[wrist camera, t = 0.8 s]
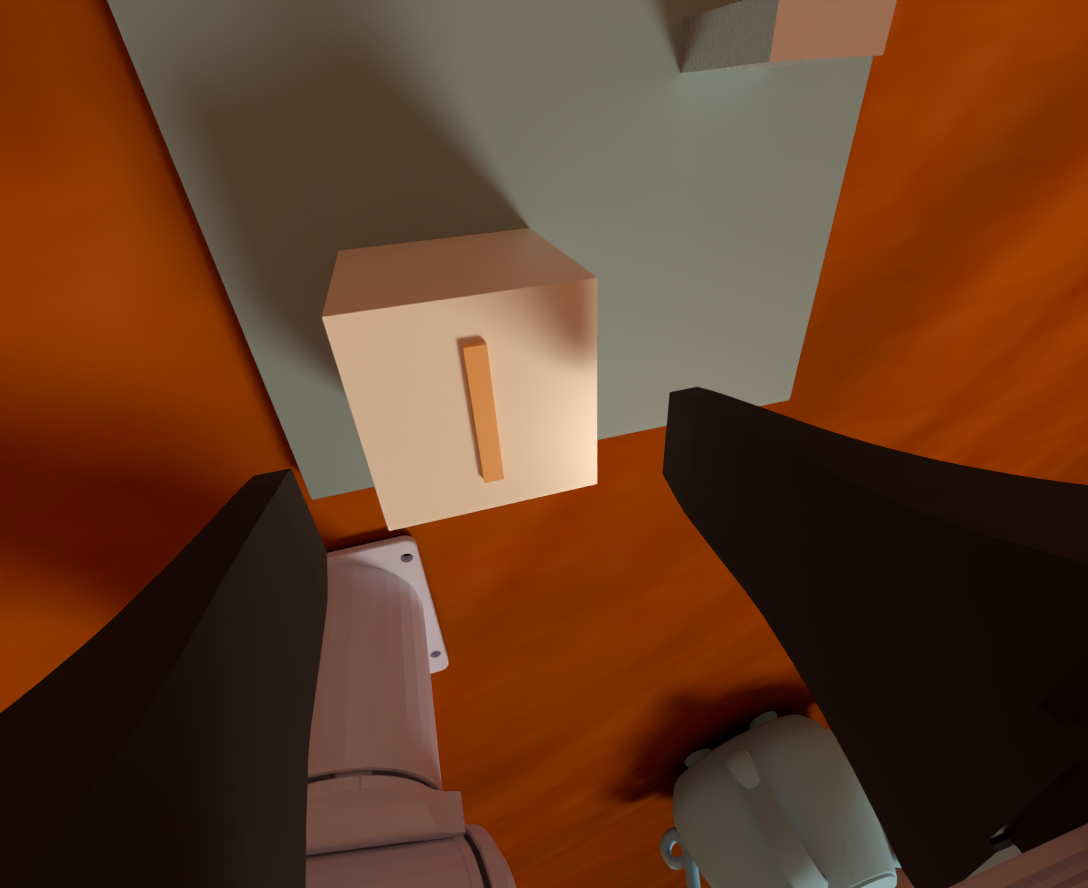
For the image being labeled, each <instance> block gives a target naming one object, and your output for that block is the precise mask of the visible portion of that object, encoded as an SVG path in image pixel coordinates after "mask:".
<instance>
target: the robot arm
mask: <svg viewBox="0 0 1088 888" xmlns="http://www.w3.org/2000/svg"><path fill="white" fill-rule="evenodd" d="M663 475H664V477H665V479H666V481H667V483H668V485H669V486H670V488H671V490H672V492H673V494H674V496H675V497H676V499H677V501H678V502H679V504H680V506H681V507H682V509H683V511H684V512H685V514H686V515H687V516H688V518H689V519H690V520H691V522H692V523H693V524H694V526H695V527H696V528H697V530H698V531H699V532H700V534H701V535H702V536H703V538H704V539H705V540H706V541H707V543H708V544H709V545H710V547H711V548H712V549H713V550H714V552H715V553H716V554H717V555H718V557H719V558H720V559H721V561H722V562H723V563H724V564H725V566H726V567H727V568H728V570H729V571H730V572H731V573H732V575H733V576H734V577H735V578H736V580H737V581H738V582H739V584H740V585H741V586H742V587H743V589H744V590H745V591H746V593H747V594H748V595H749V596H750V598H751V599H752V601H753V602H754V603H755V605H756V606H757V608H758V609H759V610H760V612H761V613H762V615H763V616H764V618H765V619H766V621H767V622H768V624H769V626H770V627H771V629H772V630H773V632H774V634H775V635H776V637H777V638H778V640H779V641H780V643H781V645H782V646H783V648H784V649H785V651H786V653H787V654H788V656H789V657H790V659H791V661H792V662H793V664H794V666H795V667H796V669H797V671H798V673H799V674H800V676H801V678H802V679H803V681H804V683H805V685H806V686H807V688H808V690H809V691H810V693H811V695H812V696H813V698H814V700H815V702H816V703H817V705H818V707H819V708H820V710H821V712H822V714H823V716H824V717H825V719H826V721H827V723H828V725H829V727H830V728H831V730H832V732H833V734H834V736H835V738H836V739H837V741H838V743H839V745H840V747H841V749H842V750H843V752H844V754H845V756H846V758H847V760H848V761H849V763H850V765H851V767H852V769H853V771H854V773H855V775H856V777H857V779H858V781H859V782H860V784H861V786H862V788H863V790H864V792H865V794H866V796H867V798H868V800H869V802H870V804H871V806H872V808H873V810H874V812H875V814H876V816H877V818H878V820H879V822H880V824H881V826H882V828H883V830H884V832H885V834H886V836H887V838H888V840H889V843H890V845H891V846H892V849H893V851H894V853H895V855H896V857H897V859H898V862H899V864H900V866H901V868H902V870H903V872H904V873H905V875H906V876H907V877H908V879H909V880H910V882H911V883H912V885H913V886H914V887H915V888H1088V485H1082V484H1074V483H1066V482H1058V481H1051V480H1045V479H1038V478H1031V477H1025V476H1018V475H1012V474H1007V473H1001V472H996V471H990V470H985V469H979V468H974V467H968V466H963V465H958V464H953V463H949V462H944V461H939V460H934V459H930V458H926V457H922V456H918V455H914V454H910V453H906V452H901V451H897V450H893V449H889V448H885V447H882V446H878V445H874V444H871V443H867V442H864V441H860V440H857V439H854V438H851V437H847V436H844V435H841V434H838V433H834V432H831V431H828V430H825V429H822V428H819V427H816V426H813V425H810V424H807V423H804V422H801V421H798V420H795V419H792V418H790V417H787V416H784V415H781V414H778V413H775V412H773V411H770V410H767V409H764V408H762V407H759V406H756V405H753V404H750V403H748V402H745V401H742V400H739V399H736V398H733V397H731V396H728V395H725V394H722V393H718V392H715V391H712V390H708V389H704V388H700V387H693V388H688V389H683V390H678V391H673V392H670V393H669V404H668V416H667V428H666V439H665V451H664V463H663ZM404 554H411V555H409V556H403V555H404ZM448 663H449V662H448V656H447V652H446V649H445V645H444V642H443V638H442V634H441V631H440V627H439V624H438V620H437V616H436V613H435V609H434V606H433V602H432V598H431V595H430V591H429V588H428V584H427V580H426V577H425V573H424V570H423V566H422V562H421V559H420V555H419V552H418V548H417V544H416V541H415V539H414V538H412V537H411V536H399V537H395V538H390V539H386V540H382V541H377V542H373V543H368V544H364V545H360V546H355V547H351V548H347V549H342V550H338V551H334V552H329V553H327V551H326V549H325V546H324V544H323V542H322V539H321V537H320V535H319V532H318V530H317V528H316V525H315V523H314V521H313V518H312V516H311V514H310V511H309V509H308V507H307V504H306V502H305V500H304V497H303V495H302V493H301V490H300V488H299V486H298V483H297V481H296V479H295V476H294V474H293V472H292V469H286V470H281V471H276V472H271V473H266V474H261V475H256V476H253V477H252V478H251V479H250V480H249V481H248V482H247V483H246V484H245V485H244V486H243V487H242V488H241V489H240V490H239V491H238V492H237V493H236V494H235V495H234V496H233V497H232V498H231V499H230V500H229V501H228V503H227V504H226V505H225V506H224V507H223V508H222V509H221V510H220V511H219V512H218V513H217V514H216V515H215V517H214V518H213V519H212V520H211V521H210V522H209V523H208V524H207V525H206V526H205V527H204V528H203V529H202V530H201V531H200V533H199V534H198V535H197V536H196V537H195V538H194V539H193V540H192V541H191V542H190V543H189V544H188V545H187V546H186V547H185V548H184V549H183V550H182V552H181V553H180V554H179V555H178V556H177V557H176V558H175V559H174V560H173V561H172V562H171V563H170V564H169V565H168V566H167V567H166V568H165V569H164V570H163V571H162V572H161V573H160V574H159V575H158V576H157V577H156V578H155V579H154V580H153V581H151V582H150V583H149V584H148V585H147V586H146V587H145V588H144V589H143V590H142V591H141V592H140V593H139V594H138V595H137V596H136V597H135V598H134V599H133V600H132V601H131V602H130V603H129V604H128V605H127V606H126V607H125V608H124V609H123V610H122V611H121V612H120V613H119V614H118V615H117V616H115V617H114V618H113V619H112V620H111V621H110V622H109V623H108V624H107V625H106V626H105V627H103V628H102V629H101V630H100V631H99V632H98V633H97V634H96V635H94V636H93V637H92V638H91V639H90V640H89V641H88V642H87V643H85V644H84V645H83V646H82V647H81V648H80V649H79V650H77V651H76V652H75V653H74V654H73V655H71V656H70V657H69V658H68V659H67V660H65V661H64V662H63V663H62V664H61V665H60V666H58V667H57V668H56V669H55V670H54V671H52V672H51V673H50V674H49V675H48V676H46V677H45V678H44V679H43V680H42V681H40V682H39V683H38V684H37V685H36V686H34V687H33V688H32V689H31V690H29V691H28V692H27V693H26V694H24V695H23V696H22V697H21V698H20V699H18V700H17V701H16V702H14V703H13V704H12V705H10V706H9V707H8V708H6V709H5V710H4V711H3V712H1V713H0V888H516V885H515V882H514V879H513V876H512V873H511V871H510V868H509V866H508V864H507V862H506V860H505V858H504V856H503V855H502V853H501V852H500V851H499V849H498V847H497V845H496V844H495V842H494V840H493V839H492V837H491V836H490V835H489V833H488V832H487V831H486V830H485V829H484V828H482V827H481V826H479V825H476V824H467V825H465V822H464V814H463V806H462V799H461V793H460V792H459V791H442V785H441V775H440V765H439V755H438V745H437V735H436V725H435V716H434V706H433V696H432V686H431V676H430V674H431V673H435V672H438V671H441V670H444V669H445V668H446V667H447V666H448Z"/></svg>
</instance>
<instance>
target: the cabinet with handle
mask: <svg viewBox="0 0 1088 888" xmlns="http://www.w3.org/2000/svg"><path fill="white" fill-rule="evenodd" d="M322 319H323V323H324V326H325V329H326V332H327V335H328V339H329V342H330V345H331V348H332V351H333V355H334V358H335V361H336V364H337V367H338V370H339V374H340V377H341V380H342V383H343V386H344V390H345V393H346V396H347V399H348V402H349V406H350V409H351V412H352V415H353V418H354V421H355V425H356V428H357V431H358V434H359V437H360V441H361V444H362V447H363V450H364V453H365V457H366V460H367V463H368V466H369V469H370V472H371V476H372V479H373V482H374V485H375V488H376V492H377V495H378V498H379V501H380V504H381V508H382V511H383V514H384V517H385V520H386V524H387V527H388V530H389V531H392V530H396V529H401V528H405V527H409V526H414V525H418V524H423V523H427V522H431V521H436V520H440V519H445V518H449V517H453V516H458V515H462V514H467V513H471V512H475V511H480V510H484V509H489V508H493V507H497V506H502V505H506V504H511V503H515V502H519V501H524V500H528V499H533V498H537V497H541V496H546V495H550V494H555V493H559V492H563V491H568V490H572V489H577V488H581V487H585V486H590V485H594V484H597V277H596V276H594V275H593V274H592V273H590V272H589V271H588V270H586V269H585V268H583V267H582V266H581V265H579V264H578V263H577V262H575V261H574V260H573V259H571V258H570V257H568V256H567V255H566V254H564V253H563V252H562V251H560V250H559V249H558V248H556V247H555V246H553V245H552V244H551V243H549V242H548V241H547V240H545V239H544V238H542V237H541V236H540V235H538V234H537V233H536V232H534V231H533V230H532V229H530V228H525V229H517V230H508V231H500V232H492V233H483V234H475V235H466V236H458V237H450V238H441V239H433V240H425V241H416V242H408V243H399V244H391V245H383V246H374V247H366V248H357V249H349V250H341V251H338V255H337V259H336V263H335V267H334V271H333V275H332V279H331V283H330V286H329V290H328V294H327V298H326V302H325V306H324V310H323V314H322Z"/></svg>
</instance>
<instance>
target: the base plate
mask: <svg viewBox="0 0 1088 888" xmlns="http://www.w3.org/2000/svg"><path fill="white" fill-rule="evenodd" d="M107 1H108V4H109V6H110V9H111V11H112V14H113V16H114V18H115V21H116V23H117V26H118V28H119V31H120V33H121V35H122V38H123V40H124V43H125V45H126V48H127V50H128V52H129V55H130V57H131V60H132V62H133V65H134V67H135V70H136V72H137V74H138V77H139V79H140V82H141V84H142V87H143V89H144V91H145V94H146V96H147V99H148V101H149V104H150V106H151V109H152V111H153V113H154V116H155V118H156V121H157V123H158V126H159V128H160V130H161V133H162V135H163V138H164V140H165V143H166V145H167V148H168V150H169V152H170V155H171V157H172V160H173V162H174V165H175V167H176V169H177V172H178V174H179V177H180V179H181V182H182V184H183V186H184V189H185V191H186V194H187V196H188V199H189V201H190V204H191V206H192V208H193V211H194V213H195V216H196V218H197V221H198V223H199V225H200V228H201V230H202V233H203V235H204V238H205V240H206V243H207V245H208V247H209V250H210V252H211V255H212V257H213V260H214V262H215V264H216V267H217V269H218V272H219V274H220V277H221V279H222V281H223V284H224V286H225V289H226V291H227V294H228V296H229V299H230V301H231V303H232V306H233V308H234V311H235V313H236V316H237V318H238V320H239V323H240V325H241V328H242V330H243V333H244V335H245V338H246V340H247V342H248V345H249V347H250V350H251V352H252V355H253V357H254V359H255V362H256V364H257V367H258V369H259V372H260V374H261V377H262V379H263V381H264V384H265V386H266V389H267V391H268V394H269V396H270V398H271V401H272V403H273V406H274V408H275V411H276V413H277V415H278V418H279V420H280V423H281V425H282V428H283V430H284V433H285V435H286V437H287V440H288V442H289V445H290V447H291V450H292V452H293V454H294V457H295V459H296V462H297V464H298V467H299V469H300V472H301V474H302V476H303V479H304V481H305V484H306V486H307V489H308V491H309V493H310V496H311V498H312V500H313V499H318V498H322V497H327V496H332V495H337V494H341V493H346V492H351V491H356V490H361V489H365V488H370V487H375V485H374V482H373V479H372V476H371V472H370V469H369V466H368V463H367V460H366V457H365V453H364V450H363V447H362V444H361V441H360V437H359V434H358V431H357V428H356V425H355V421H354V418H353V415H352V412H351V409H350V406H349V402H348V399H347V396H346V393H345V390H344V386H343V383H342V380H341V377H340V374H339V370H338V367H337V364H336V361H335V358H334V355H333V351H332V348H331V345H330V342H329V339H328V335H327V332H326V329H325V326H324V323H323V319H322V314H323V310H324V306H325V302H326V298H327V294H328V290H329V286H330V283H331V279H332V275H333V271H334V267H335V263H336V259H337V255H338V251H341V250H349V249H357V248H366V247H374V246H383V245H391V244H399V243H408V242H416V241H425V240H433V239H441V238H450V237H458V236H466V235H475V234H483V233H492V232H500V231H508V230H517V229H525V228H530V229H532V230H533V231H534V232H536V233H537V234H538V235H540V236H541V237H542V238H544V239H545V240H547V241H548V242H549V243H551V244H552V245H553V246H555V247H556V248H558V249H559V250H560V251H562V252H563V253H564V254H566V255H567V256H568V257H570V258H571V259H573V260H574V261H575V262H577V263H578V264H579V265H581V266H582V267H583V268H585V269H586V270H588V271H589V272H590V273H592V274H593V275H594V276H596V277H597V440H599V439H604V438H609V437H614V436H618V435H623V434H628V433H633V432H638V431H642V430H647V429H652V428H657V427H661V426H666V425H667V416H668V404H669V393H670V392H673V391H678V390H683V389H688V388H693V387H700V388H704V389H708V390H712V391H715V392H718V393H722V394H725V395H728V396H731V397H733V398H736V399H739V400H742V401H745V402H748V403H750V404H753V405H756V406H762V405H767V404H771V403H776V402H781V401H786V400H789V399H790V395H791V391H792V387H793V383H794V379H795V375H796V370H797V366H798V362H799V358H800V354H801V350H802V346H803V342H804V338H805V334H806V329H807V325H808V321H809V317H810V313H811V309H812V305H813V301H814V297H815V293H816V289H817V284H818V280H819V276H820V272H821V268H822V264H823V260H824V256H825V252H826V248H827V244H828V239H829V235H830V231H831V227H832V223H833V219H834V215H835V211H836V207H837V203H838V198H839V194H840V190H841V186H842V182H843V178H844V174H845V170H846V166H847V162H848V158H849V153H850V149H851V145H852V141H853V137H854V133H855V129H856V125H857V121H858V117H859V113H860V108H861V104H862V100H863V96H864V92H865V88H866V84H867V80H868V76H869V72H870V67H871V63H872V59H873V56H870V57H861V58H853V59H844V60H835V61H827V62H818V63H809V64H801V65H792V66H783V67H775V68H760V69H744V70H727V71H711V72H695V73H681V59H682V46H683V33H684V20H685V18H688V17H691V16H694V15H697V14H701V13H704V12H707V11H710V10H714V9H717V8H720V7H723V6H727V5H730V4H733V3H736V2H740V1H743V0H107Z"/></svg>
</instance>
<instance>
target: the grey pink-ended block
mask: <svg viewBox="0 0 1088 888" xmlns="http://www.w3.org/2000/svg"><path fill="white" fill-rule="evenodd" d="M896 2H897V0H743V1H740V2H736V3H733V4H730V5H727V6H723V7H720V8H717V9H714V10H710V11H707V12H704V13H701V14H697V15H694V16H691V17H688V18H685V20H684V33H683V46H682V59H681V73H695V72H711V71H727V70H744V69H760V68H775V67H783V66H792V65H801V64H809V63H818V62H827V61H835V60H844V59H853V58H861V57H870V56H879V55H883V53H884V49H885V45H886V41H887V37H888V33H889V30H890V26H891V22H892V18H893V14H894V10H895V6H896Z"/></svg>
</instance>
